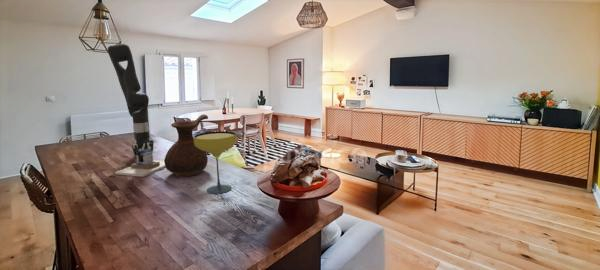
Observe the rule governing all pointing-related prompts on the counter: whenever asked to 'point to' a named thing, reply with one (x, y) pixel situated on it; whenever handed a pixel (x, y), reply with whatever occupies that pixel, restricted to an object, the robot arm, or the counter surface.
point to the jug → (186, 151)
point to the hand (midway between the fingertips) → (145, 160)
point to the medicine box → (146, 157)
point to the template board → (142, 169)
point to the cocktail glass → (216, 151)
